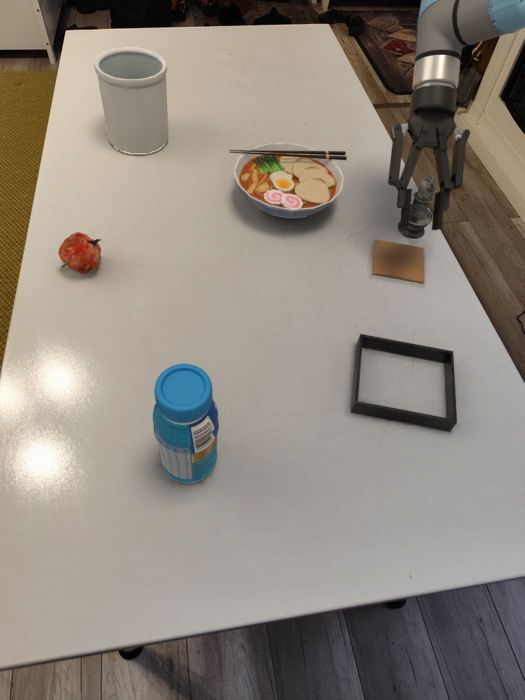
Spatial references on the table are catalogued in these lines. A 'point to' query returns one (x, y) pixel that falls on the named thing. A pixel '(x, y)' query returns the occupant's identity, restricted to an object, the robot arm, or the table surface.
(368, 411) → the open square frame
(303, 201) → the ramen bowl
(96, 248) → the pomegranate
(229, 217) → the table surface
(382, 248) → the cork mat
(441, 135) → the robot arm
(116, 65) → the utensil holder
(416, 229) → the grey chess piece
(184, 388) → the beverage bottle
